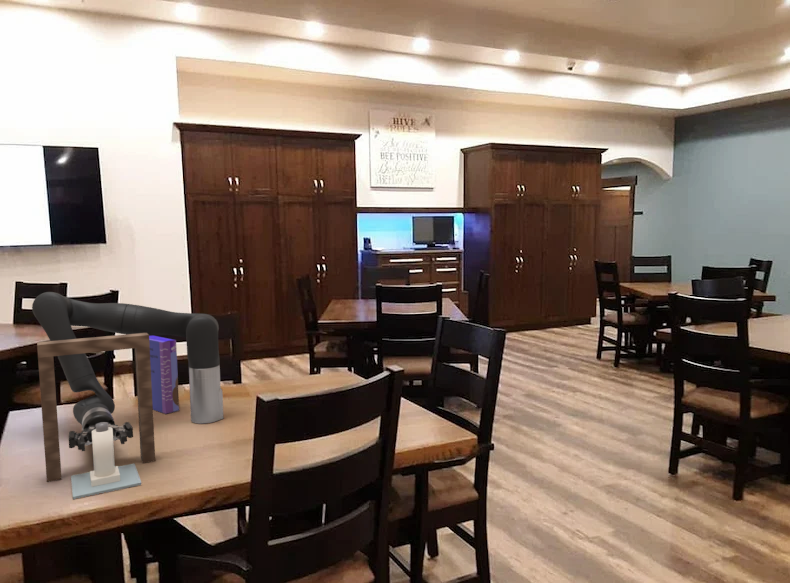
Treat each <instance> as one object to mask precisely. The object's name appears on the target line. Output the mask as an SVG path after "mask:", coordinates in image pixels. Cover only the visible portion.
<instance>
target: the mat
mask: <svg viewBox="0 0 790 583" xmlns="http://www.w3.org/2000/svg"><path fill="white" fill-rule="evenodd" d="M117 466H118V469H119V473H120V481H117V482H113V483H108V484H103V485H98V486H93V487H92V486H91V480H90V471H89V472H83V473H78V474H73V475H72V474H71V476H70V481H71V482H70V483H71V491H72V492H71V494H72V500H77V499H76V498H78V499H82V498H81V497H83V498H86V497H85V496H88V497H91V496H90V495H92V496H96V495H95V494H97V495H100V494H99V493H102V494H105V493H104V492H106V493H109V492H110V493H111V492H115V490H116V491H120V490H125V489H130V488H134V487H138V485H139V486H142V485H141V484H142V480H141V477H140V474H139V472H138V469H137V467H136V464H135V463H129V464H124V465H117ZM129 487H130V488H129Z"/></svg>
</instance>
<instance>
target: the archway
mask: <svg viewBox="0 0 790 583" xmlns="http://www.w3.org/2000/svg"><path fill="white" fill-rule="evenodd" d="M36 346H37V360H38V362H37V363H38V375H39V389H40V390H39V392H40V403H41V404H40V405H41V406H40V407H41V419H42V432H43V445H44V448H43V449H44V458H45V461H44V462H45V463H44V464H45V472H46V473H45V474H46V483H50V482H55V481H59V480H60V481H61V480H62V465H61V464H62V463H61V450H60V449H61V448H60V435H59V422H58V419H59V418H58V406H57V393H56V376H55V362H54V361H55V360H54V357H58V356H62V355H72V354H82V353H85V354H89V353H90V354H91V353H92V354H93V353H100V352H109V351H121V350H129V349H134V352H135V353H134V354H135V355H134V356H135V357H134V358H135V373H136V377H135V378H136V391H137V393H136V395H137V409H138V410H137V411H138V413H137V414H138V432H139V433H138V435H139V450H140V451H139V452H140V461H141V462H142V464H147V463H151V461H152V462H155V461H156V448H155V446H156V445H155V424H154V410H153V402H152V382H151V362H150V342H149V334H148V333H138V334H117V335H106V336H96V337H95V336H93V337H83V338H76V339H69V340H58V341H50V340H49V341H38V342H37V345H36ZM146 462H147V463H146ZM49 481H50V482H49Z"/></svg>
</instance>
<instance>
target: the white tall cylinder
mask: <svg viewBox="0 0 790 583" xmlns="http://www.w3.org/2000/svg"><path fill="white" fill-rule="evenodd" d="M91 445H92V458H93V459H92V460H93V470H90V471H89V472H90V480H91V486H92V487H93V486H98V485H103V484H108V483H113V482H117V481H120V473H119V469H118V466H119V465H115V449H114V448H115V447H114V446H115V445H114V441H113V428H112V427H108V422H100V423H97V424H96V429H94V430H92V444H91Z"/></svg>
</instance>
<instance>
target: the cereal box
mask: <svg viewBox="0 0 790 583" xmlns="http://www.w3.org/2000/svg"><path fill="white" fill-rule="evenodd" d="M149 342H150V362H151V382H152V402H153V411H155V412H157V411H158V413H161V414H163V415H169V414H172V413H173V414H174V413H177V412H179V411H180V396H179V380H178V379H179V377H178V376H179V375H178V356H177V355H178V354H177V339H172V338H167V337H163V336H159V335H156V336H149Z"/></svg>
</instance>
